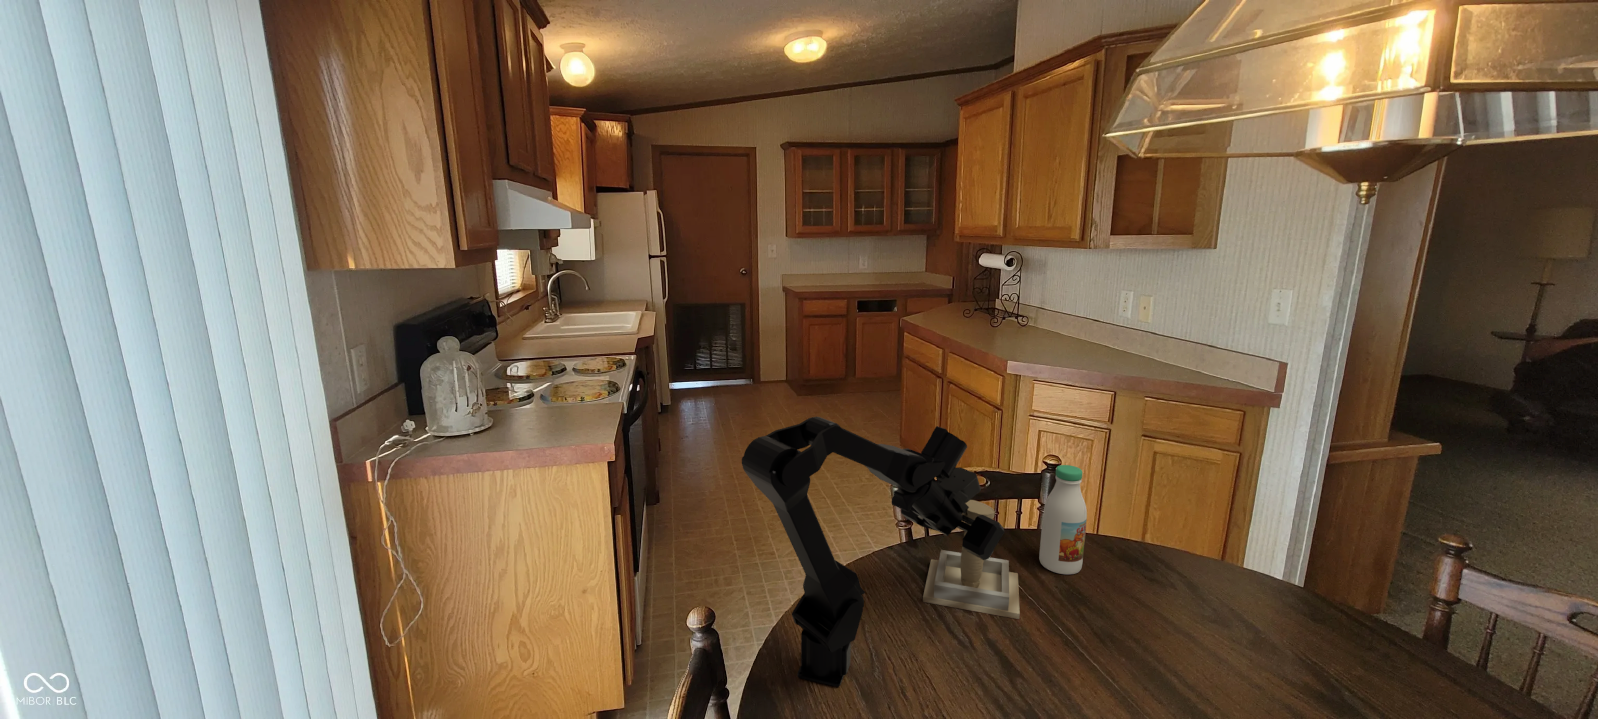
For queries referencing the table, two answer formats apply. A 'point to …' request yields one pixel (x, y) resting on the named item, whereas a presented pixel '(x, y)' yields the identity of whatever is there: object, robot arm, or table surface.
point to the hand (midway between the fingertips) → (970, 542)
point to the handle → (970, 562)
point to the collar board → (990, 597)
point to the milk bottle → (1064, 523)
